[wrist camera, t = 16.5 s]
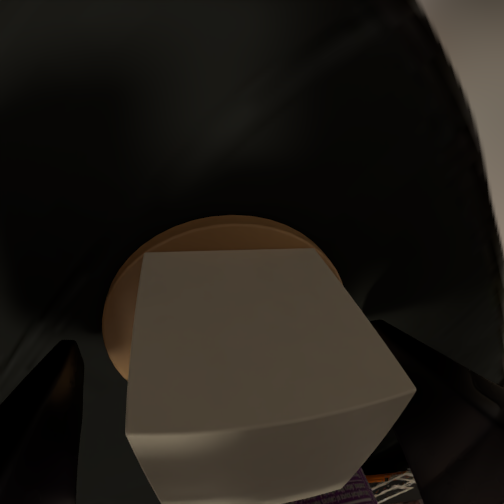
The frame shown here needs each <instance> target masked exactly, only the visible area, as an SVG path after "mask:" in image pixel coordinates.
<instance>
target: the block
mask: <svg viewBox="0 0 504 504" xmlns="http://www.w3.org/2000/svg"><path fill="white" fill-rule="evenodd" d="M415 392H416V387H415V386H414V384H413V383H412V381H411V380H410V378H409V377H408V376H407V374H406V373H405V371H404V370H403V368H402V367H401V365H400V364H399V363H398V361H397V360H396V358H395V357H394V355H393V354H392V353H391V351H390V350H389V348H388V347H387V345H386V344H385V343H384V341H383V340H382V338H381V337H380V336H379V334H378V333H377V331H376V330H375V329H374V327H373V326H372V325H371V323H370V322H369V320H368V319H367V318H366V316H365V315H364V314H363V312H362V311H361V309H360V308H359V307H358V305H357V304H356V303H355V301H354V300H353V299H352V297H351V296H350V295H349V293H348V292H347V291H346V289H345V288H344V287H343V285H342V284H341V283H340V281H339V280H338V279H337V277H336V276H335V275H334V273H333V272H332V271H331V270H330V268H329V267H328V266H327V264H326V263H325V262H324V260H323V259H322V258H321V257H320V255H319V254H318V253H317V251H316V250H315V249H314V248H296V249H257V250H218V251H181V252H146V253H144V256H143V262H142V268H141V274H140V280H139V287H138V294H137V301H136V308H135V316H134V324H133V333H132V342H131V352H130V362H129V374H128V387H127V403H126V425H125V434H126V436H127V439H128V441H129V443H130V445H131V447H132V449H133V451H134V454H135V456H136V458H137V460H138V462H139V464H140V466H141V468H142V470H143V472H144V473H145V475H146V477H147V479H148V481H149V483H150V485H151V487H152V488H153V490H154V492H155V494H156V496H157V497H158V499H159V501H160V502H161V504H283V503H288V502H292V501H297V500H301V499H305V498H309V497H313V496H317V495H321V494H325V493H328V492H332V491H335V490H338V489H341V488H342V487H343V486H344V485H345V484H346V483H347V482H348V481H349V480H350V479H351V477H352V476H353V475H354V474H355V473H356V472H357V471H358V469H359V468H360V467H361V466H362V465H363V463H364V462H365V461H366V460H367V459H368V457H369V456H370V455H371V454H372V452H373V451H374V450H375V449H376V447H377V446H378V445H379V443H380V442H381V441H382V440H383V438H384V437H385V436H386V434H387V433H388V432H389V430H390V429H391V427H392V426H393V425H394V423H395V422H396V420H397V419H398V418H399V416H400V415H401V413H402V412H403V410H404V409H405V407H406V406H407V404H408V403H409V401H410V400H411V398H412V397H413V395H414V394H415Z"/></svg>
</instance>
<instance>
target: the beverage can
mask: <svg viewBox="0 0 504 504" xmlns="http://www.w3.org/2000/svg"><path fill="white" fill-rule="evenodd" d="M283 504H378V503H377V500H376V498H375V496H374V494H373V492H372V489H371V487H370V485H369V483H368V481H367V479H366V476H365V474H364V472H363V470H362V468H361V467H360V468H359V469H358V471H357V472H356V473H355V474H354V475H353V476H352V477H351V479H350V480H349V481H348V482H347V483H346V484H345V485H344V486H343V487H342V488H341V489H338V490H335V491H332V492H328V493H325V494H321V495H317V496H313V497H309V498H305V499H301V500H297V501H292V502H288V503H283Z"/></svg>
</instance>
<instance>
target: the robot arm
mask: <svg viewBox="0 0 504 504" xmlns="http://www.w3.org/2000/svg"><path fill="white" fill-rule="evenodd" d="M370 323H371V325H372V326H373V327H374V329H375V330H376V331H377V333H378V334H379V336H380V337H381V338H382V340H383V341H384V343H385V344H386V345H387V347H388V348H389V350H390V351H391V353H392V354H393V355H394V357H395V358H396V360H397V361H398V363H399V364H400V365H401V367H402V368H403V370H404V371H405V373H406V374H407V376H408V377H409V378H410V380H411V381H412V383H413V384H414V386H415V387H416V392H415V394H414V395H413V397H412V398H411V400H410V401H409V403H408V404H407V406H406V407H405V409H404V410H403V412H402V413H401V415H400V416H399V418H398V419H397V420H396V422H395V423H394V425H393V426H392V427H393V429H394V431H395V434H396V436H397V438H398V441H399V443H400V445H401V448H402V450H403V453H404V455H405V457H406V460H407V462H408V465H409V467H410V470H411V472H412V474H413V477H414V479H415V482H416V484H417V487H418V490H419V491H420V495H421V498H422V500H423V503H424V504H504V388H503V387H501V386H499V385H497V384H495V383H493V382H491V381H489V380H487V379H485V378H483V377H481V376H480V375H478V374H476V373H474V372H473V371H471V370H470V371H469V369H467V368H466V367H464V366H462V365H460V364H459V363H457V362H455V361H453V360H452V359H450V358H448V357H446V356H445V355H443V354H441V353H439V352H438V351H436V350H434V349H432V348H431V347H429V346H427V345H425V344H423V343H422V342H420V341H418V340H416V339H415V338H413V337H411V336H409V335H408V334H406V333H404V332H402V331H401V330H399V329H397V328H395V327H394V326H392V325H390V324H388V323H386V322H385V321H383V320H374V321H370ZM83 381H84V362H83V359H82V356H81V353H80V351H79V348H78V345H77V343H76V341H74V340H61V341H60V342H59V343H58V344H57V345H56V346H55V347H54V348H53V349H52V350H51V351H50V352H49V353H48V354H47V355H46V356H45V357H44V358H43V359H42V360H41V361H40V362H39V363H38V365H37V366H36V367H35V368H34V369H33V370H32V371H31V372H30V373H29V374H28V375H27V376H26V377H25V378H24V379H23V381H22V382H21V383H20V384H19V385H18V386H17V387H16V388H15V389H14V390H13V391H12V393H11V394H10V395H9V396H8V397H7V398H6V399H5V400H4V402H3V403H2V404H1V405H0V504H76V481H77V465H78V453H79V442H80V433H81V424H82V412H83Z"/></svg>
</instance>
